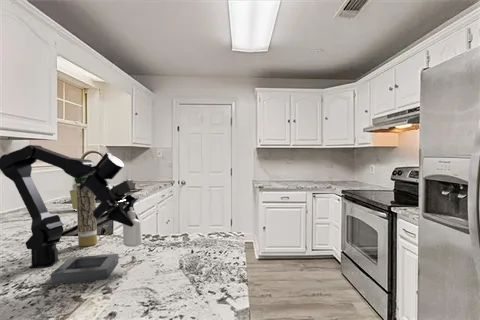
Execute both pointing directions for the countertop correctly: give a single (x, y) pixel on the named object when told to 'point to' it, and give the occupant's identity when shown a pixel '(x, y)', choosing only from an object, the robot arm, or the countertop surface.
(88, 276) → the hollow square frame
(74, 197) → the potted cactus
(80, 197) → the wooden log
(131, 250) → the countertop surface
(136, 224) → the eye dropper bottle
